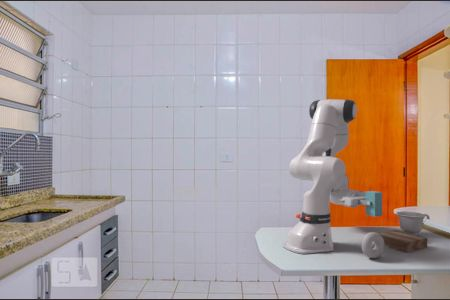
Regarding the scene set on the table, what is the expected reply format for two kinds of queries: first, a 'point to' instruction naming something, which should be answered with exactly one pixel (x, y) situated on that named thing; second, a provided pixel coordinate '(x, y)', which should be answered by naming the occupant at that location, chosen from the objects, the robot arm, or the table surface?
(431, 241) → the table surface
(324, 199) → the robot arm
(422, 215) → the teacup
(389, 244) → the oak base
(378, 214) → the teal block
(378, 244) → the donut
